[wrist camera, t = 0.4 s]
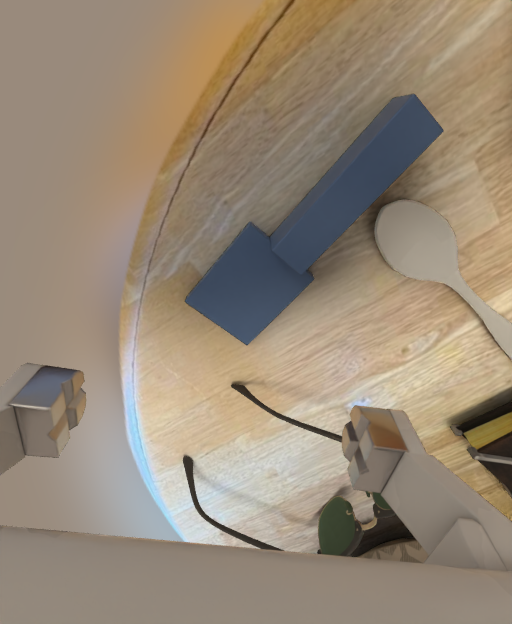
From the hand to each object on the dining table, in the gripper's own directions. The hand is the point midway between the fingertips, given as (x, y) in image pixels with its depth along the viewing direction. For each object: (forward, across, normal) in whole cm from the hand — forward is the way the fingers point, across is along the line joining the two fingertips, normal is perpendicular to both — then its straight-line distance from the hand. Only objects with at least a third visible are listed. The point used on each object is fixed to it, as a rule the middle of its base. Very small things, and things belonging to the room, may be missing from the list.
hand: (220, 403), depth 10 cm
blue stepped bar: (+14, -4, -2) cm, 14 cm away
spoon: (+14, -17, +1) cm, 22 cm away
